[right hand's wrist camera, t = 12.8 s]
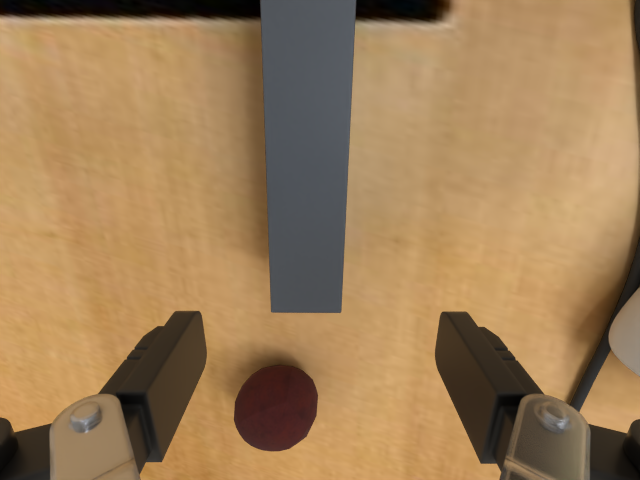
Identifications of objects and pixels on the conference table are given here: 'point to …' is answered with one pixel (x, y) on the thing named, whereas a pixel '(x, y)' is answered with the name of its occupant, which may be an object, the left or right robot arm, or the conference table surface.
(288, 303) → the post
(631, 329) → the projector
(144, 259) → the conference table surface
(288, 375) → the potato
